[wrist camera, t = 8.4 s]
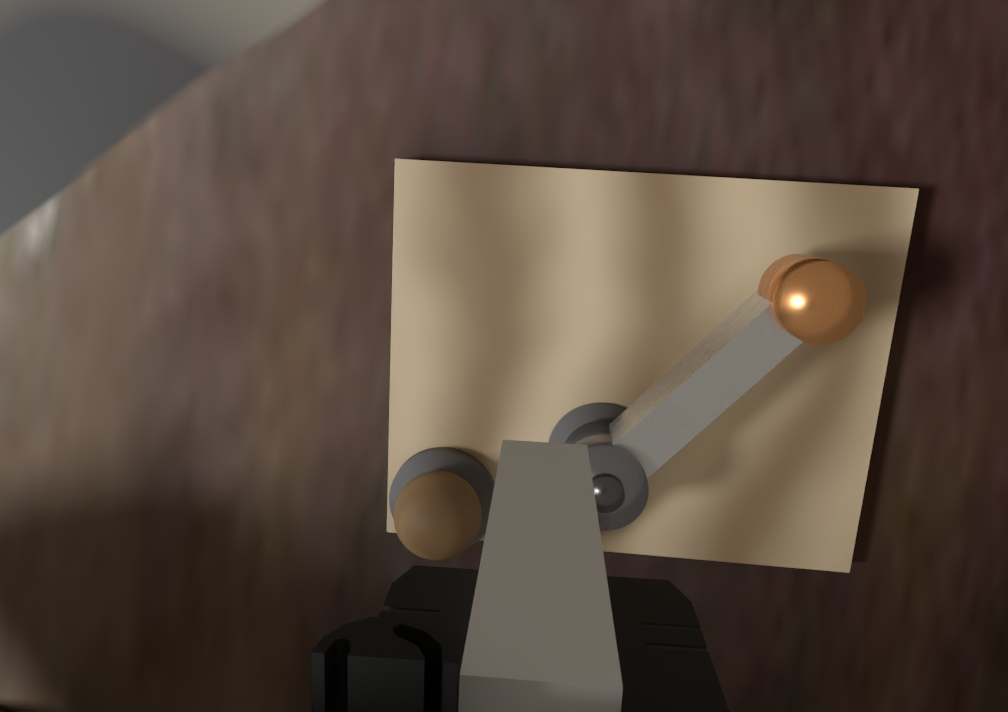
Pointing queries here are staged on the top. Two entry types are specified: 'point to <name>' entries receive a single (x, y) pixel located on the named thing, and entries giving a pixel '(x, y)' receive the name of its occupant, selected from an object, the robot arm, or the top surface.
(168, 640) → the top surface
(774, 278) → the lever
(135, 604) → the top surface
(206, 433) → the top surface
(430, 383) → the press base
